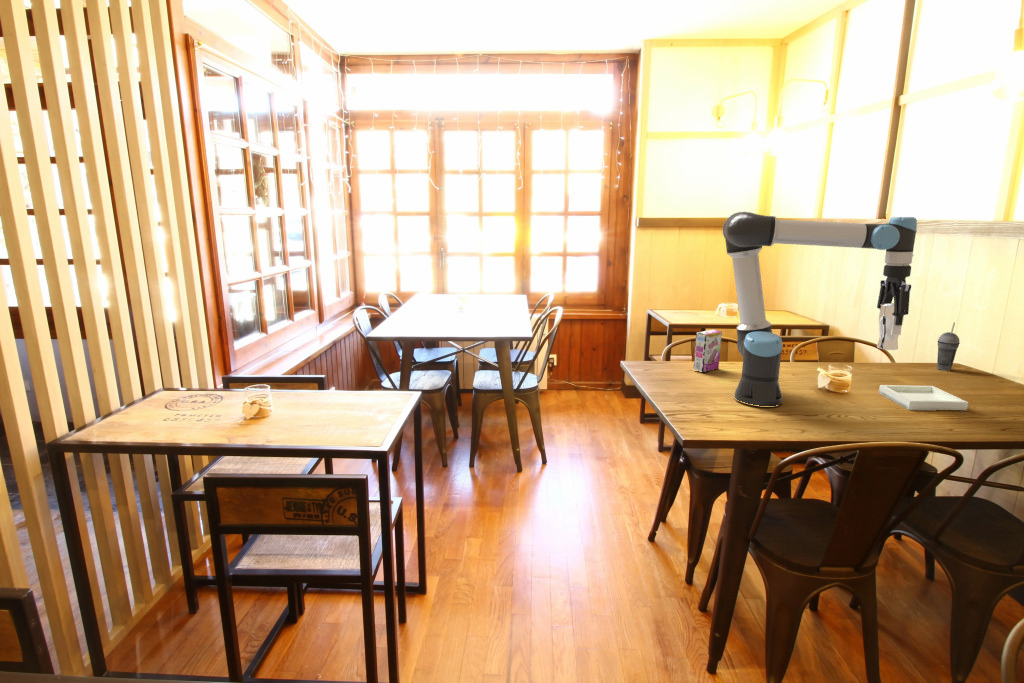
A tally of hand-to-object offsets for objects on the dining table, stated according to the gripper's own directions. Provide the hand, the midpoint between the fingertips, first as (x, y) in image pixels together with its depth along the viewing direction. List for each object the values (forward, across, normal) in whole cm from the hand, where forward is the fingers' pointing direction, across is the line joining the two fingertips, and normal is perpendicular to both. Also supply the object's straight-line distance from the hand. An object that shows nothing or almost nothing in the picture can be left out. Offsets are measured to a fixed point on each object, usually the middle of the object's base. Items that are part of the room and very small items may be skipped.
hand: (889, 332), depth 191 cm
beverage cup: (+24, +40, -46) cm, 65 cm away
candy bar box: (+23, +33, +52) cm, 66 cm away
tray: (+24, -3, -11) cm, 27 cm away
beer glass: (+6, 0, 0) cm, 6 cm away
